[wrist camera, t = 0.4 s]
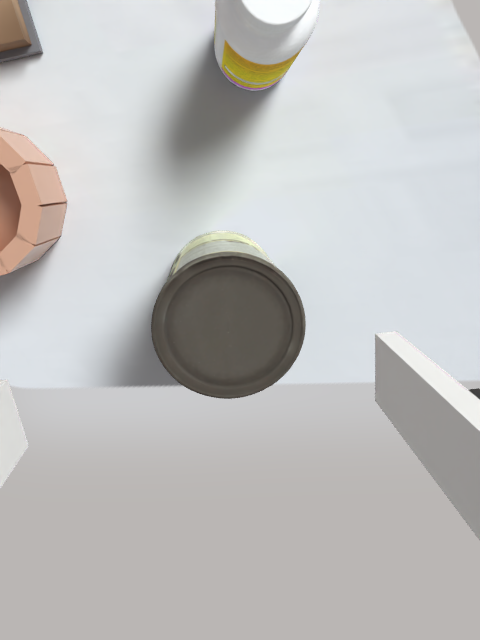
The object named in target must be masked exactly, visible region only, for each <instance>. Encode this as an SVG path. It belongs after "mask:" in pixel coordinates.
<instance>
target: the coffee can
mask: <svg viewBox="0 0 480 640" xmlns="http://www.w3.org/2000/svg"><path fill="white" fill-rule="evenodd" d="M151 331H152V340H153V344H154V348H155V351H156V353H157V355H158V358H159V359H160V361H161V363H162V364H163V366H164V367H165V369H166V370H167V371H168V372H169V373H170V375H171V376H172V377H173V378H174V379H176V380H177V381H178V382H179V383H180V384H182V385H183V386H185V387H186V388H188V389H190V390H192V391H195V392H197V393H199V394H202V395H206V396H211V397H216V398H228V399H230V398H240V397H245V396H248V395H252V394H255V393H257V392H260V391H262V390H264V389H266V388H267V387H269V386H271V385H273V384H274V383H275V382H277V381H278V380H279V379H280V378H281V377H283V376H284V375H285V374H286V372H287V371H288V370H289V369H290V368H291V366H292V365H293V363H294V362H295V360H296V358H297V357H298V355H299V353H300V350H301V347H302V344H303V340H304V335H305V312H304V308H303V305H302V301H301V299H300V296H299V294H298V292H297V290H296V289H295V287H294V285H293V284H292V282H291V281H290V280H289V279H288V277H287V276H286V275H285V274H284V273H283V272H282V271H280V270H279V269H278V268H277V267H276V266H275V265H274V264H273V263H272V261H271V260H270V259H269V258H268V257H267V255H266V253H265V252H264V251H263V249H262V248H261V247H260V246H259V245H258V244H257V243H255V242H254V241H253V240H251V239H250V238H248V237H246V236H244V235H242V234H239V233H235V232H230V231H215V232H210V233H206V234H203V235H201V236H198V237H196V238H195V239H193V240H192V241H190V242H189V243H188V244H187V245H186V246H185V247H184V248H183V249H182V250H181V251H180V253H179V254H178V256H177V257H176V259H175V261H174V264H173V266H172V270H171V273H170V275H169V277H168V280H167V282H166V283H165V285H164V286H163V288H162V290H161V292H160V293H159V295H158V298H157V300H156V303H155V306H154V309H153V314H152V322H151Z"/></svg>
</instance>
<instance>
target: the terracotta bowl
mask: <svg viewBox="0 0 480 640" xmlns="http://www.w3.org/2000/svg"><path fill="white" fill-rule="evenodd" d="M53 165H54V164H53V163H52V162H51V161H50V160H49V159H48V158H47V157H46V156H45V155H44V154H43V153H42V152H41V151H40V150H39V149H38V148H37V147H36V146H35V145H34V144H33V143H32V142H31V141H30V140H29V139H28V138H27V137H26V136H24V135H22V134H19V133H16V132H13V131H10V130H7V129H4V128H1V127H0V275H4V274H8V273H10V272H13V271H15V270H17V269H19V268H21V267H24V266H26V265H28V264H30V263H32V262H35V261H36V260H39V259H40V258H41V256H42V255H43V254H44V253H45V252H46V251H47V250H48V249H49V248H50V247H51V246H52V245H53V244H54V243H55V242H56V241H57V240H58V239H59V238H60V237H59V236H61V233H62V228H63V223H64V218H65V213H66V208H67V203H65V202H66V201H67V199H66V196H65V193H64V190H63V187H62V185H61V182H60V179H59V176H58V173H57V170H56V167H55V166H53Z"/></svg>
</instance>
